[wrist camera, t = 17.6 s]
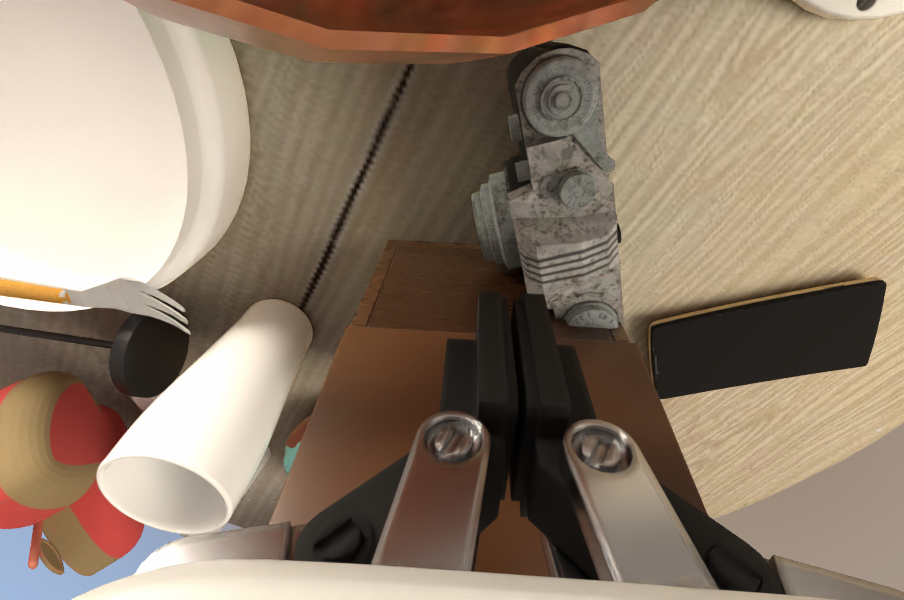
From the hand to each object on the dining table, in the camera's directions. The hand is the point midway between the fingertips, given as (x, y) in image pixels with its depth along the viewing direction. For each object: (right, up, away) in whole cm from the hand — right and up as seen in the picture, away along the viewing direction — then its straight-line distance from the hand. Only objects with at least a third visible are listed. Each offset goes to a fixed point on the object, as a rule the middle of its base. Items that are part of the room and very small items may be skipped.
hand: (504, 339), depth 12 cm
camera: (+3, +8, +16) cm, 18 cm away
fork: (-37, +3, +14) cm, 39 cm away
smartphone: (+21, -2, +21) cm, 30 cm away
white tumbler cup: (-15, -1, +23) cm, 27 cm away
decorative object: (-34, -8, +26) cm, 44 cm away
